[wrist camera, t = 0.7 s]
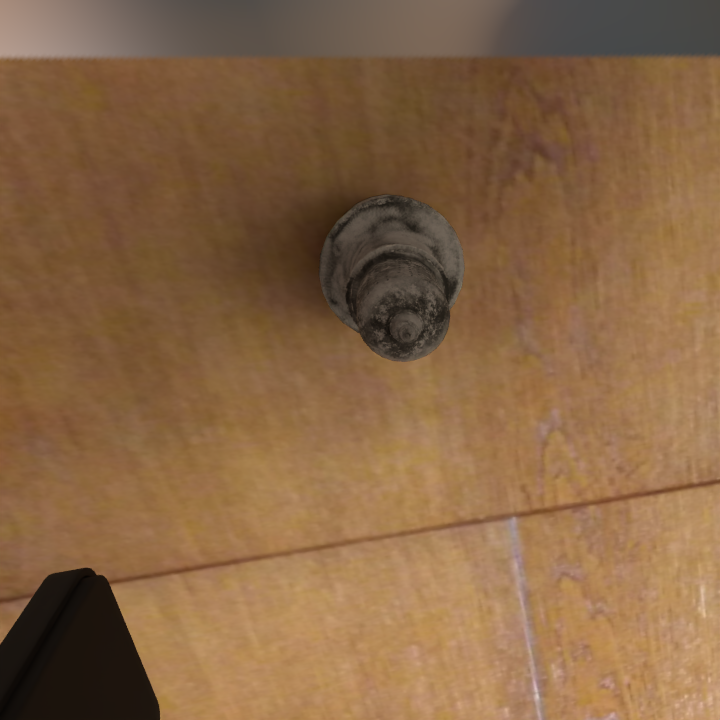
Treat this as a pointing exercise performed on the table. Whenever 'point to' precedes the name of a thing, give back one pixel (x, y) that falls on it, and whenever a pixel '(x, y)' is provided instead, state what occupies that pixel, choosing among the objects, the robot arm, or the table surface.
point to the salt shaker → (393, 275)
